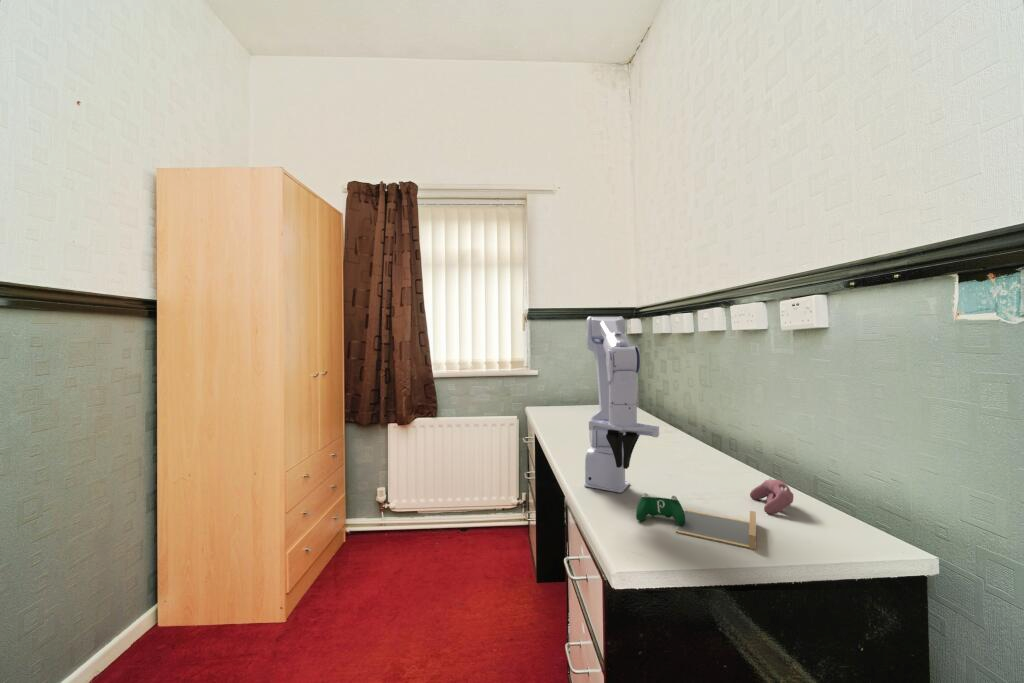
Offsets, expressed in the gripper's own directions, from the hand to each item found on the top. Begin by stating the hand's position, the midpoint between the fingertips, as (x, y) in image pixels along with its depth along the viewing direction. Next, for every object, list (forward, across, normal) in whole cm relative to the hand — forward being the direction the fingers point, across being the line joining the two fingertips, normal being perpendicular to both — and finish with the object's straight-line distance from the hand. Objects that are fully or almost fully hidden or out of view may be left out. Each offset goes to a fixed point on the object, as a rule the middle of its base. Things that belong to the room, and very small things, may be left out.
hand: (622, 466), depth 90 cm
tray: (+9, +18, +1) cm, 20 cm away
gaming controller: (+10, +8, 0) cm, 12 cm away
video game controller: (+10, +28, +19) cm, 35 cm away
